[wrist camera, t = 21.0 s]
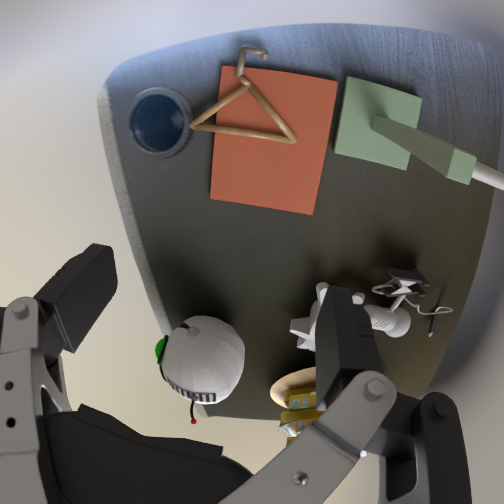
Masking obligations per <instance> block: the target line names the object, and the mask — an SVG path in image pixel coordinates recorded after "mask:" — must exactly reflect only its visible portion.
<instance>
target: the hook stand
mask: <svg viewBox="0 0 504 504" xmlns="http://www.w3.org/2000/svg"><path fill="white" fill-rule="evenodd" d="M421 103H422V98H420V97H417V96H414V95H411V94H408V93H405V92H402V91H399V90H396V89H393V88H390V87H387V86H383V85H380V84H376V83H373V82H369V81H366V80H362V79H358V78H354V77H350V76H347V77H346V82H345V88H344V94H343V100H342V106H341V111H340V117H339V122H338V128H337V133H336V138H335V143H334V149H333V151H334V153H338V154H342V155H347V156H351V157H356V158H360V159H364V160H368V161H373V162H377V163H380V164H384V165H388V166H392V167H396V168H399V169H403V170H406V169H407V165H408V161H409V157H410V153H411V154H413V155H415V156H416V157H418V158H419V159H421V160H422V161H424V162H425V163H427V164H428V165H430V166H431V167H433V168H434V169H436V170H437V171H438V172H440V173H441V174H443V175H444V176H445V177H447V178H450V179H453V180H456V181H459V182H461V183H464V184H467V185H469V183H470V180H471V177H472V178H475V179H477V180H480V181H482V182H485V183H487V184H490V185H492V186H494V187H497V188H499V189H502V190H504V174H503V173H501V172H499V171H497V170H494V169H492V168H490V167H488V166H485V165H483V164H481V163H479V162H476V159H477V157H476V156H474V155H472V154H470V153H468V152H466V151H464V150H462V149H460V148H458V147H456V146H454V145H452V144H450V143H448V142H445V141H443V140H441V139H439V138H436V137H434V136H432V135H429V134H427V133H425V132H422V131H420V130H417V129H416V128H417V123H418V118H419V113H420V108H421Z"/></svg>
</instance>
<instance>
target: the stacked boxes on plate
mask: <svg viewBox="0 0 504 504" xmlns="http://www.w3.org/2000/svg"><path fill="white" fill-rule="evenodd" d="M270 394H271V397H272V399H273V400H274V401H275V402H276V403H278V404H279V405H281V406H283V407H286V408H288V409H289V411H282V412H280V413H281V420H280V427H282V428H283V430H284V431H285V432H286V433H287V434H288V435H289V436H290V437H288V438H287V445H288V444H290V443H291V442H292V441H293V440H294V439H295V438H296V437H297V436H298V435H299V434H300V433H301V432H302V431H303V430H304V429H305V428H306V427H307V426H308V425H309V424H310V423H312V422H315V421H316V420H317V419H318V418H319V417H320V416H321V415H322V414H323V413H324V412H325V411H316V367H311V368H307V369H303V370H300V371H297V372H294V373H291V374H289V375H287V376H284V377H283V378H281V379H279V380H278V381H277V382H276V383H275V384H274V385H273V386H272V388H271V390H270ZM287 445H286V446H287ZM367 453H368V452H366V451H363V450H362V452H361V453H360V455H361V456H360V457H365V456H367Z"/></svg>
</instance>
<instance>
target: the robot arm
mask: <svg viewBox="0 0 504 504" xmlns="http://www.w3.org/2000/svg"><path fill="white" fill-rule="evenodd" d="M117 283H118V281H117V273H116V267H115V260H114V254H113V250H112V248H111V247H110V246H106V245H100V244H95V243H93V244H91V245H90V246H89V247H88V248H87V249H86V250H85V251H84V252H83V253H82V254H79V255H77V256H75V257H73V258H71V259H69V260H68V261H67V262H66V263H65V264H64V265H63V266H62V268H61V269H59V270H58V271H57V273H55V276H53V277H52V278H51V279H50V280H49V281H48V282H47V283H46V284H45V285H44V286H43V287H42V288H41V289H40V290H39V292H37V294H36V295H35V296H34V297H33V298H32V297H21V298H18V299H16V300H14V301H12V302H11V303H10V304H9V305H8V306H7V307H0V504H323V502H324V501H325V500H326V499H327V498H328V497H329V496H330V495H331V493H332V492H333V491H334V490H335V489H336V488H337V486H338V485H339V484H340V483H341V482H342V480H343V479H344V478H345V477H346V476H347V474H348V473H349V472H350V471H351V469H352V468H353V467H354V466H355V464H356V463H357V461H358V460H359V458H360V456H361V455H360V453H361V452H362V450H363V451H366V452H370V453H373V454H377V455H379V499H378V500H379V501H378V504H472V497H471V487H470V477H469V470H468V463H467V456H466V451H465V444H464V439H463V433H462V428H461V423H460V419H459V414H458V410H457V407H456V405H455V403H454V402H453V400H452V399H451V398H450V397H448V396H447V395H445V394H443V393H439V392H432V393H429V394H427V395H426V396H425V397H424V398H423V399H422V400H419V399H416V398H413V397H410V396H406V395H403V394H401V393H399V392H397V391H396V388H395V386H394V384H393V382H392V381H391V380H390V379H389V378H388V377H387V376H386V375H384V374H383V373H382V369H381V364H380V359H379V354H378V350H377V345H376V341H375V338H374V332H373V329H372V323H371V319H370V315H369V314H368V313H367V311H366V310H365V309H364V307H363V306H362V305H360V304H354V303H353V298H352V293H351V290H350V288H343V287H337V286H330V285H329V286H328V288H327V290H326V293H325V296H324V299H323V302H322V305H321V308H320V311H319V314H318V317H317V321H316V326H315V360H316V411H325V412H324V413H323V414H322V415H321V416H320V417H319V418H318V419H317V420H316V421H315V422H312V423H310V424H309V425H308V426H307V427H306V428H305V429H304V430H303V431H302V432H301V433H300V434H299V435H298V436H297V437H296V438H295V439H294V440H293V441H292V442H291V443H290V444H288V445H287V446H286V448H284V449H283V450H282V451H281V452H280V453H279V454H278V455H277V456H276V457H274V458H273V459H272V460H271V461H270V462H269V463H268V464H266V465H265V466H264V467H263V468H262V469H261V470H260V471H258V472H257V473H256V474H255V475H253V474H252V473H251V472H250V471H249V470H248V469H247V468H245V467H244V466H242V465H241V464H240V463H238V462H236V461H234V460H232V459H231V458H228V457H226V456H224V455H223V447H222V446H218V445H213V444H208V443H203V442H199V441H194V440H190V439H186V438H165V437H149V436H143V435H141V434H139V433H137V432H136V431H134V430H133V429H131V428H130V427H128V426H126V425H125V424H123V423H122V422H120V421H119V420H117V419H116V418H114V417H113V416H111V415H109V414H106V413H103V412H101V411H98V410H96V409H94V408H91V407H89V406H86V405H84V404H81V405H80V407H79V408H78V411H72V409H71V407H70V405H69V401H68V398H67V392H66V386H65V380H64V372H63V364H62V358H61V355H60V353H61V352H62V350H63V349H64V350H66V351H69V352H71V353H75V351H76V350H77V348H78V347H79V345H80V344H81V342H82V341H83V339H84V338H85V336H86V335H87V333H88V332H89V330H90V329H91V327H92V326H93V324H94V323H95V321H96V320H97V318H98V317H99V316H100V314H101V313H102V311H103V310H104V308H105V307H106V306H107V304H108V303H109V301H110V300H111V299H112V297H113V296H114V294H115V292H116V289H117Z"/></svg>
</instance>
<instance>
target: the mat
mask: <svg viewBox="0 0 504 504" xmlns="http://www.w3.org/2000/svg"><path fill="white" fill-rule="evenodd" d="M236 72H237V67H236V66H222V71H221V79H220V88H219V98H218V102H219V101H220V100H222V99H223V98H225V97H226V96H228V95H229V94H231V93H232V92H233V91H235V90H236V89H238V88H239V87H241V86H242V85H243V84H242V83H241V82H240V81H239V80H238V79H237V78H236ZM243 76H244V77H245V78H246V79H247V80H248V81H249V82H250V83H251V84H253V85H254V86H255V88H256V89H257V90H258V91H259V92H260V93H261V95H262V96H263V97H264V98H265V99H266V100H267V102H268V103H269V104H270V105H271V106H272V108H273V109H274V110H275V111H276V113H277V114H278V115H279V116H280V117H281V119H282V120H283V121H284V122H285V124H286V125H287V126H288V127H289V129H290V130H291V131H292V133H293V134H294V135H295V136H296V138H297V142H296V143H293V144H287V143H282V142H276V141H271V140H265V139H259V138H253V137H246V136H240V135H233V134H225V133H217V132H215V139H214V151H213V163H212V177H211V191H210V199H216V200H223V201H230V202H236V203H243V204H249V205H256V206H262V207H268V208H274V209H280V210H286V211H292V212H298V213H304V214H309V215H313V211H314V206H315V201H316V197H317V192H318V187H319V183H320V178H321V173H322V168H323V163H324V158H325V153H326V147H327V142H328V137H329V131H330V126H331V120H332V115H333V109H334V103H335V97H336V91H337V85H338V82H337V81H332V80H327V79H323V78H318V77H312V76H307V75H301V74H295V73H288V72H282V71H274V70H266V69H257V68H247V67H244V71H243ZM216 125H218V126H226V127H234V128H241V129H248V130H254V131H260V132H266V133H272V134H278V135H283V136H286V135H285V134H284V133H283V132H282V130H281V129H280V128H279V127H278V125H277V124H276V123H275V122H274V120H273V119H272V118H271V117H270V116H269V114H268V113H267V112H266V111H265V110H264V108H263V107H262V106H261V105H260V104H259V102H258V101H257V100H256V99H255V98H254V97H253V95H252V94H251V93H250V92H249V91H246V92H245V93H243V94H242V95H240V96H239V97H237V98H236V99H234V100H233V101H231V102H230V103H229V104H227V105H226V106H224V107H223V108H221V109H220V110H218V111H217V118H216Z"/></svg>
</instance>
